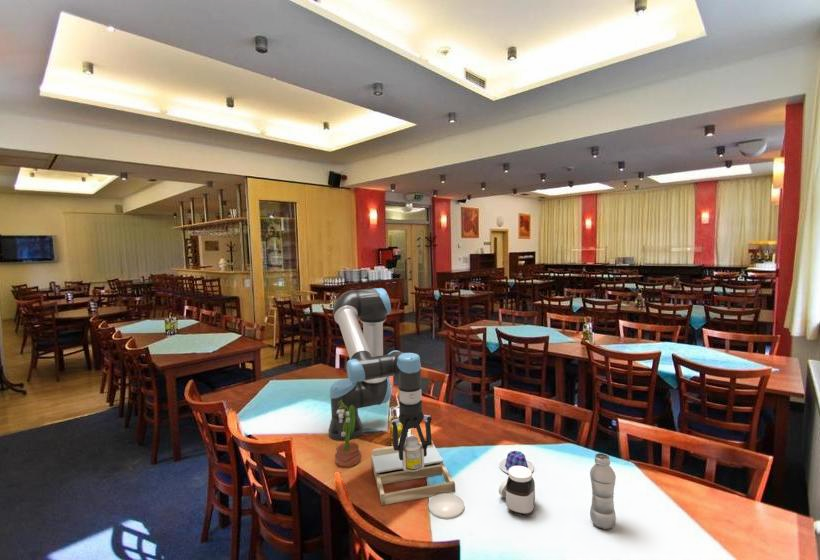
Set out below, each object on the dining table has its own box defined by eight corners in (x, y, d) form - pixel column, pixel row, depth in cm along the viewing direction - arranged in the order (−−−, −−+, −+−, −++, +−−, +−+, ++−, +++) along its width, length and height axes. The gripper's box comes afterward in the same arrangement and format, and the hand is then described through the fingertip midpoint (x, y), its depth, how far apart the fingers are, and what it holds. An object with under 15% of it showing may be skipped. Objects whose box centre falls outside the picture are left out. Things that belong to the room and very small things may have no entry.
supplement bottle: (408, 462, 139) (407, 433, 138) (423, 464, 137) (422, 436, 136) (402, 470, 134) (401, 441, 133) (418, 473, 132) (416, 444, 131)
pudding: (540, 468, 144) (540, 454, 144) (520, 481, 136) (520, 467, 136) (512, 456, 153) (512, 442, 153) (492, 468, 146) (492, 454, 145)
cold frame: (371, 463, 152) (371, 456, 152) (433, 453, 157) (433, 446, 157) (381, 505, 127) (381, 496, 127) (455, 491, 132) (454, 483, 132)
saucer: (424, 499, 129) (424, 496, 129) (457, 493, 131) (457, 490, 131) (434, 522, 118) (434, 518, 118) (469, 515, 120) (469, 511, 120)
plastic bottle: (585, 518, 116) (584, 451, 115) (607, 515, 117) (607, 449, 116) (597, 533, 110) (596, 463, 109) (621, 531, 111) (620, 461, 109)
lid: (371, 455, 151) (370, 449, 151) (433, 445, 157) (433, 439, 156) (375, 473, 139) (375, 466, 139) (443, 461, 144) (442, 455, 144)
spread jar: (529, 522, 116) (528, 483, 115) (491, 510, 122) (490, 473, 121) (539, 499, 126) (538, 463, 125) (504, 489, 132) (503, 455, 131)
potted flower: (354, 472, 147) (350, 405, 145) (329, 470, 149) (324, 405, 147) (364, 455, 158) (361, 393, 157) (341, 454, 160) (337, 393, 159)
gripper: (384, 408, 128) (387, 477, 130) (440, 401, 132) (442, 468, 134) (381, 399, 135) (384, 465, 137) (434, 393, 139) (436, 456, 141)
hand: (413, 466), depth 136 cm, fingers closed on supplement bottle, 5 cm apart
